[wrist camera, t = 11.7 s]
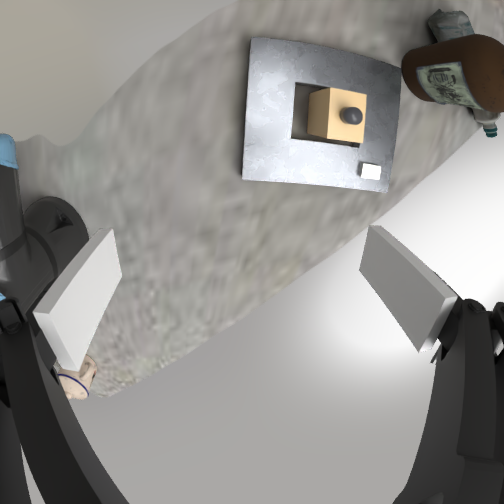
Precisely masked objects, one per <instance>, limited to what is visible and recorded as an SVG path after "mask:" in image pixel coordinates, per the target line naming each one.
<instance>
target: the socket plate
mask: <svg viewBox="0 0 504 504" xmlns="http://www.w3.org/2000/svg"><path fill="white" fill-rule="evenodd" d="M401 73H402V69H401V68H399V67H396V66H393V65H390V64H387V63H384V62H381V61H378V60H375V59H372V58H368V57H365V56H361V55H358V54H354V53H350V52H346V51H342V50H338V49H334V48H329V47H324V46H319V45H314V44H308V43H302V42H296V41H289V40H281V39H272V38H262V37H251V41H250V53H249V67H248V82H247V97H246V112H245V128H244V145H243V163H242V180H257V181H275V182H290V183H303V184H315V185H326V186H336V187H345V188H354V189H362V190H370V191H378V192H385V193H387V192H388V186H389V181H390V175H391V169H392V163H393V157H394V150H395V143H396V135H397V126H398V117H399V106H400V92H401ZM295 84H297V85H304V86H311V87H317V88H323V89H327V88H336V89H342V90H347V91H352V92H357V93H361V94H366V95H367V97H366V113H365V126H364V137H363V143H357V142H353V146H348V145H342V144H335V143H328V142H321V141H313V140H305V139H295V138H291V130H292V118H293V105H294V92H295Z"/></svg>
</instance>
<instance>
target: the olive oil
mask: <svg viewBox="0 0 504 504" xmlns="http://www.w3.org/2000/svg"><path fill="white" fill-rule="evenodd" d="M402 73H403V77H404V80H405V82H406V84H407V86H408V88H409V89H410V90H411V92H412V93H413V94H414V95H415V96H417V97H418V98H420V99H422V100H424V101H430V102H437V103H439V104H443V105H445V104H447V103H448V104H454V105H460V106H466V107H471V108H476V109H480V110H484V111H489V112H494V113H501V112H504V45H503V44H501V43H500V42H499V41H497V40H496V39H494V38H491V37H488V36H485V35H480V34H471V35H467V36H462V37H458V38H454V39H451V40H447V41H443V42H439V43H435V44H432V45H428V46H424V47H421V48H417V49H414V50H411V51H409V52H408V53H407V54H406V55H405V56H404V59H403V62H402Z"/></svg>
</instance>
